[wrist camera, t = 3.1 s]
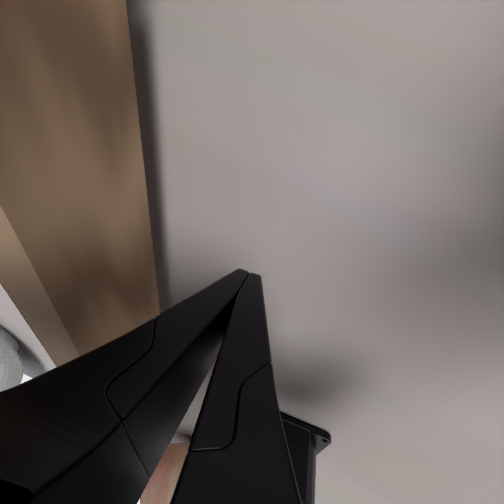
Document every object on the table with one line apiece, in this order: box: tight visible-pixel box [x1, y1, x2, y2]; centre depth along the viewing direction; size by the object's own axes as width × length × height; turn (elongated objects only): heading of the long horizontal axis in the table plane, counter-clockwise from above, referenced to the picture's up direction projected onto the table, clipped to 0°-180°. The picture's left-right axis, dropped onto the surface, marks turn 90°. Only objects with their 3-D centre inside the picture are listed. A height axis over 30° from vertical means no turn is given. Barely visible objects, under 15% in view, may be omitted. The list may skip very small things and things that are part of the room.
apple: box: [140, 442, 190, 504], centre depth 27 cm, size 8×8×8 cm
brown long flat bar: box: [0, 0, 160, 367], centre depth 10 cm, size 22×3×6 cm, turn 170°
